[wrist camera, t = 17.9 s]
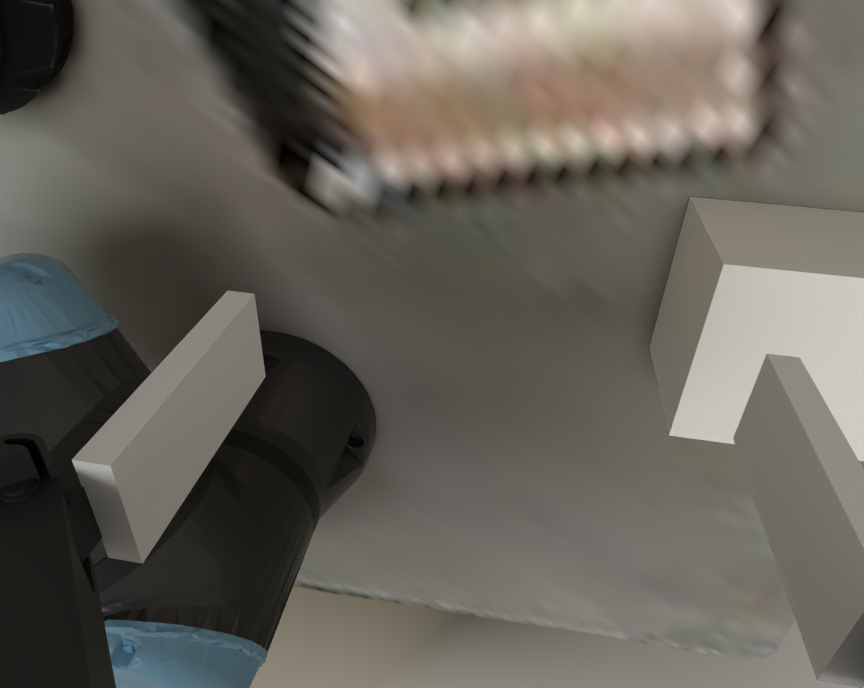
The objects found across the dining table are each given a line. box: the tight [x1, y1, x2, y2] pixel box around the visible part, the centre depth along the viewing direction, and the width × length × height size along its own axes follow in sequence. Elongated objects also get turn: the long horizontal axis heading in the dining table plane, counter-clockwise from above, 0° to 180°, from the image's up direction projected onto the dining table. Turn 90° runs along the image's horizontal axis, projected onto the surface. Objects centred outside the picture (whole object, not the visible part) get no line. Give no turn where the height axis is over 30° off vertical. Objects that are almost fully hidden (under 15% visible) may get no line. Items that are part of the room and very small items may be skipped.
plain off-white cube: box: [649, 197, 864, 461], centre depth 34 cm, size 10×10×9 cm
